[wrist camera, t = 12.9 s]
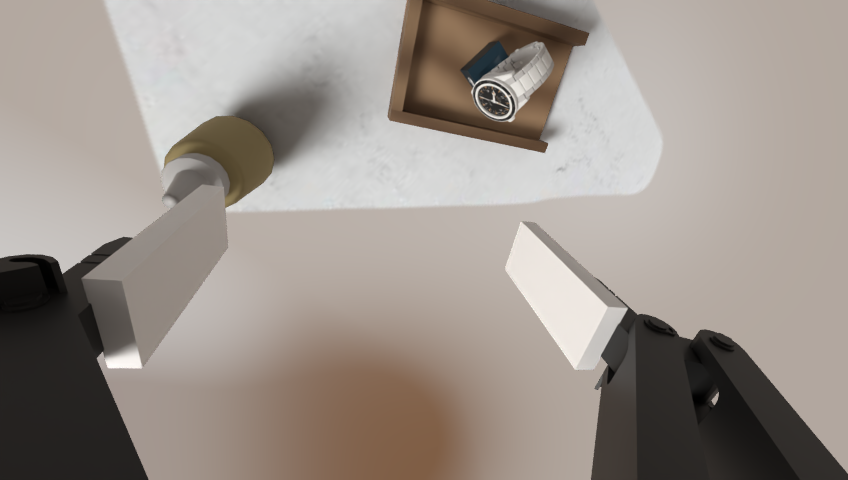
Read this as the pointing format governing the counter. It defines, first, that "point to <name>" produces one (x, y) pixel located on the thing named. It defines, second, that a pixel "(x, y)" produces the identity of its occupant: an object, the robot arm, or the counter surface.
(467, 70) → the watch
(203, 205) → the robot arm
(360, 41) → the counter surface
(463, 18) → the walnut track
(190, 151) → the squeeze bottle
